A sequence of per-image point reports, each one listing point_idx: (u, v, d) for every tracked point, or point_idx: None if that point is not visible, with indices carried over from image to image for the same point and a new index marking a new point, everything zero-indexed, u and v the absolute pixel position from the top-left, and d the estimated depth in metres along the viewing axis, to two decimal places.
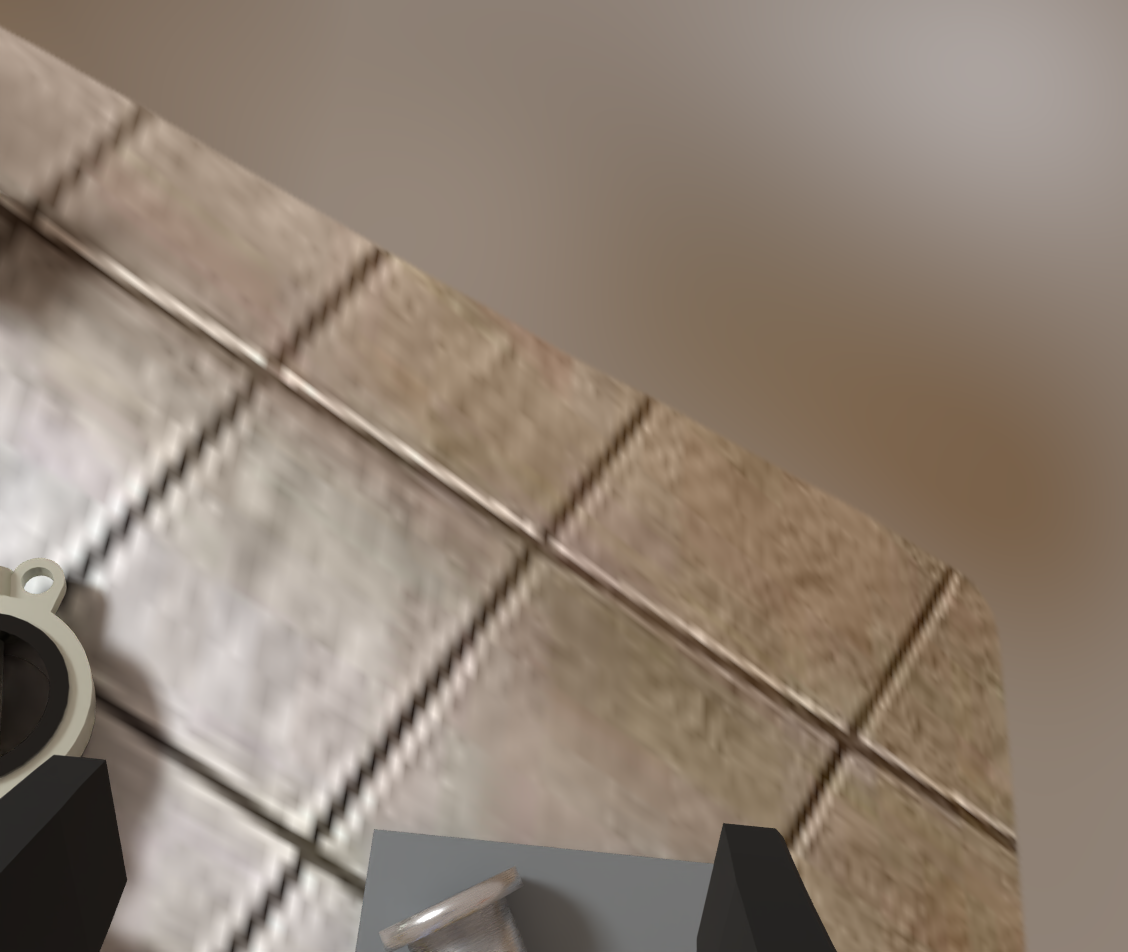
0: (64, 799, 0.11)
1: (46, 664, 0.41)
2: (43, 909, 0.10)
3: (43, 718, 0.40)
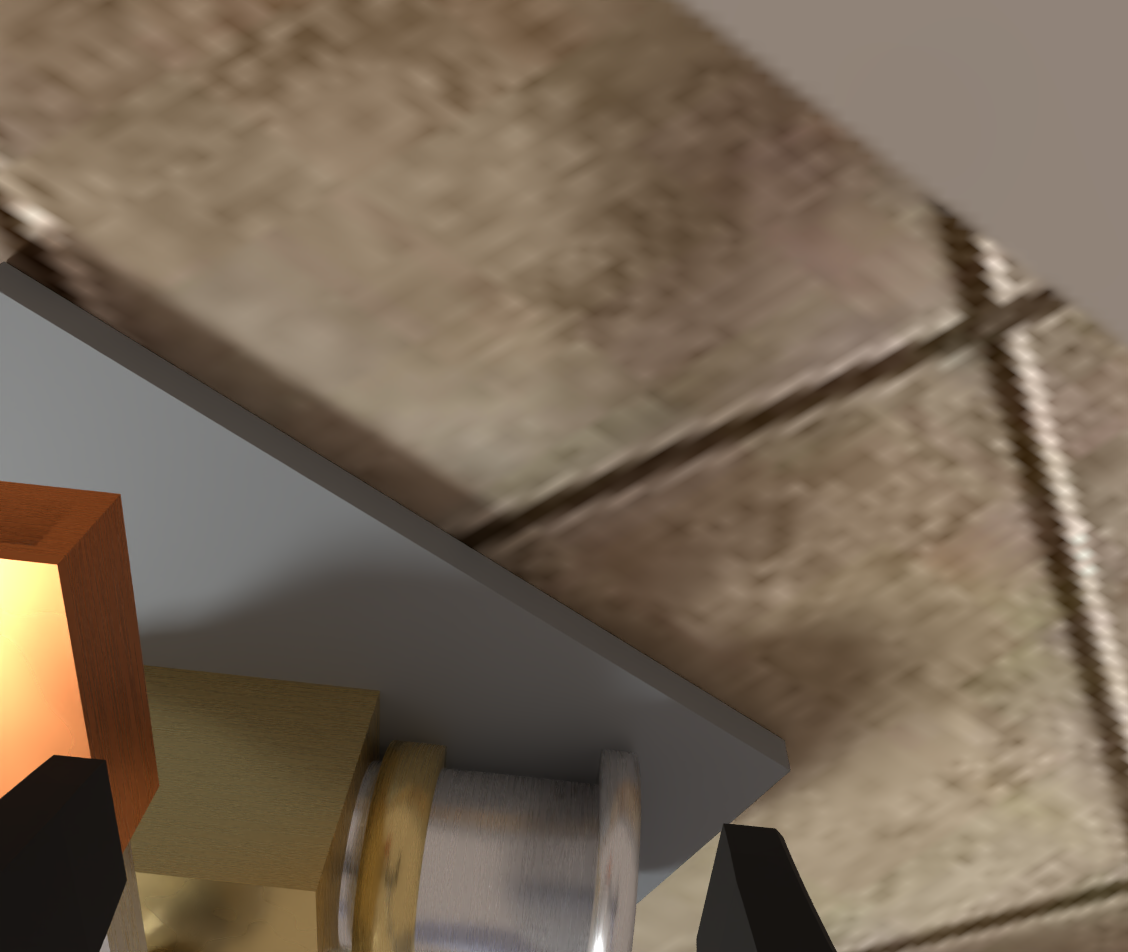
0: (64, 799, 0.11)
1: None
2: (43, 909, 0.10)
3: None
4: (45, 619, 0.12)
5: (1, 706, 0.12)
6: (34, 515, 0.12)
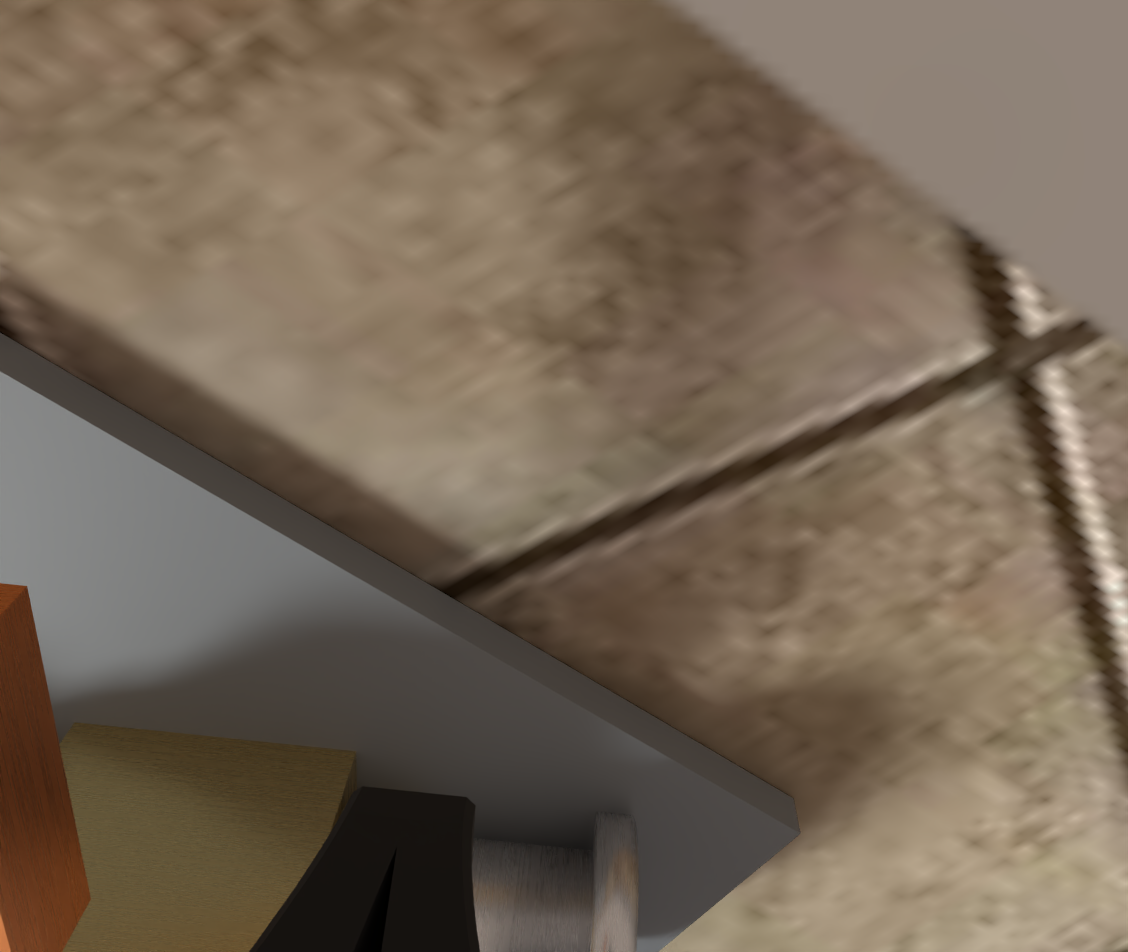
0: (395, 833, 0.11)
1: None
2: (382, 944, 0.10)
3: None
4: None
5: None
6: None
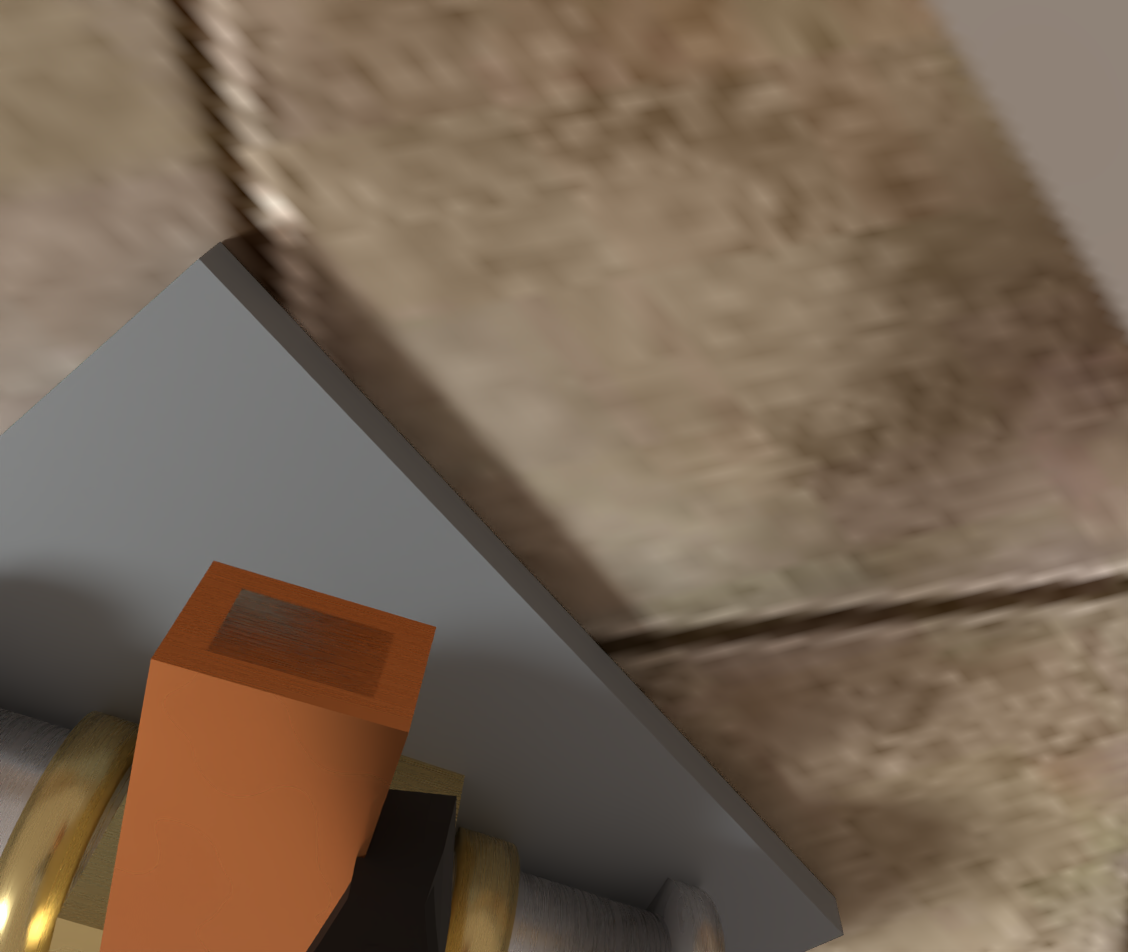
0: (440, 838, 0.11)
1: None
2: None
3: None
4: (363, 783, 0.10)
5: (260, 858, 0.10)
6: (355, 648, 0.10)
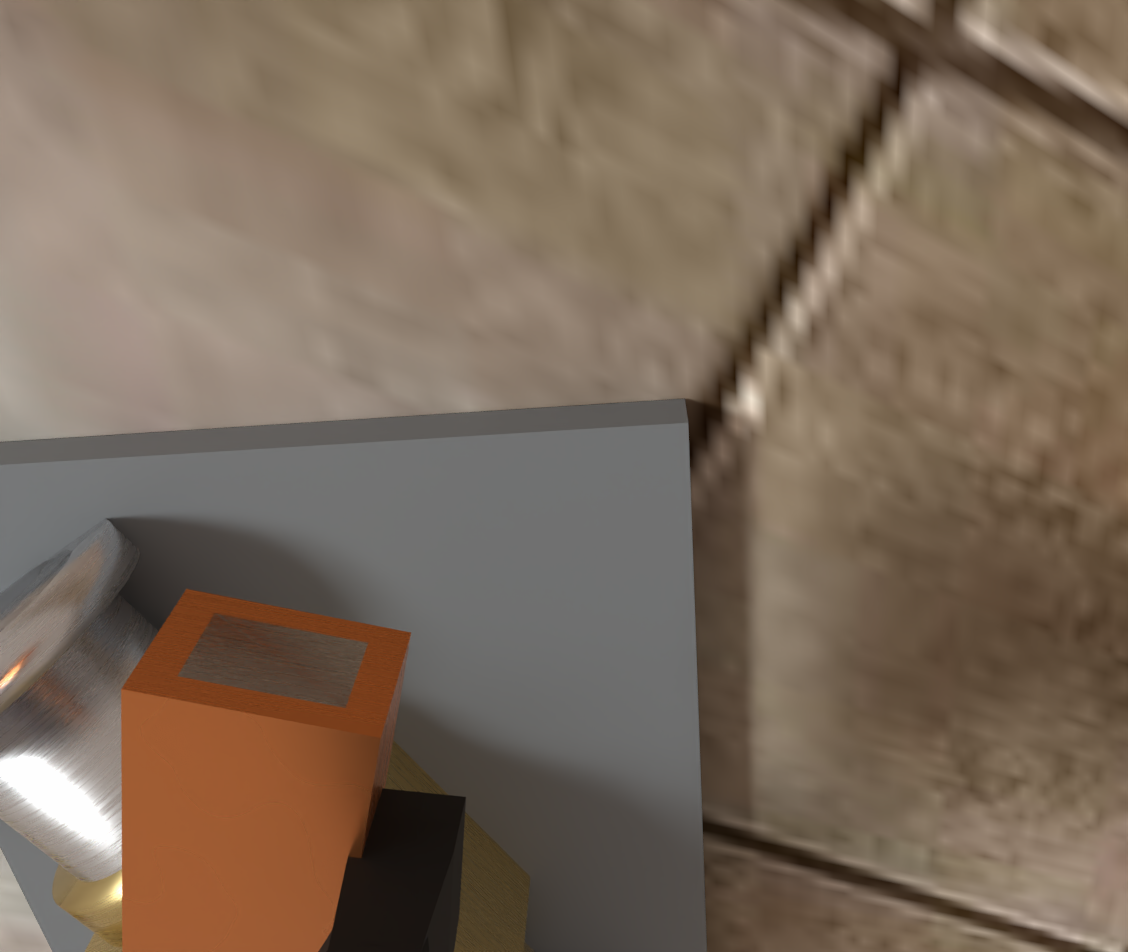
0: (450, 839, 0.11)
1: None
2: (439, 950, 0.10)
3: None
4: (345, 793, 0.10)
5: (259, 876, 0.10)
6: (327, 660, 0.10)
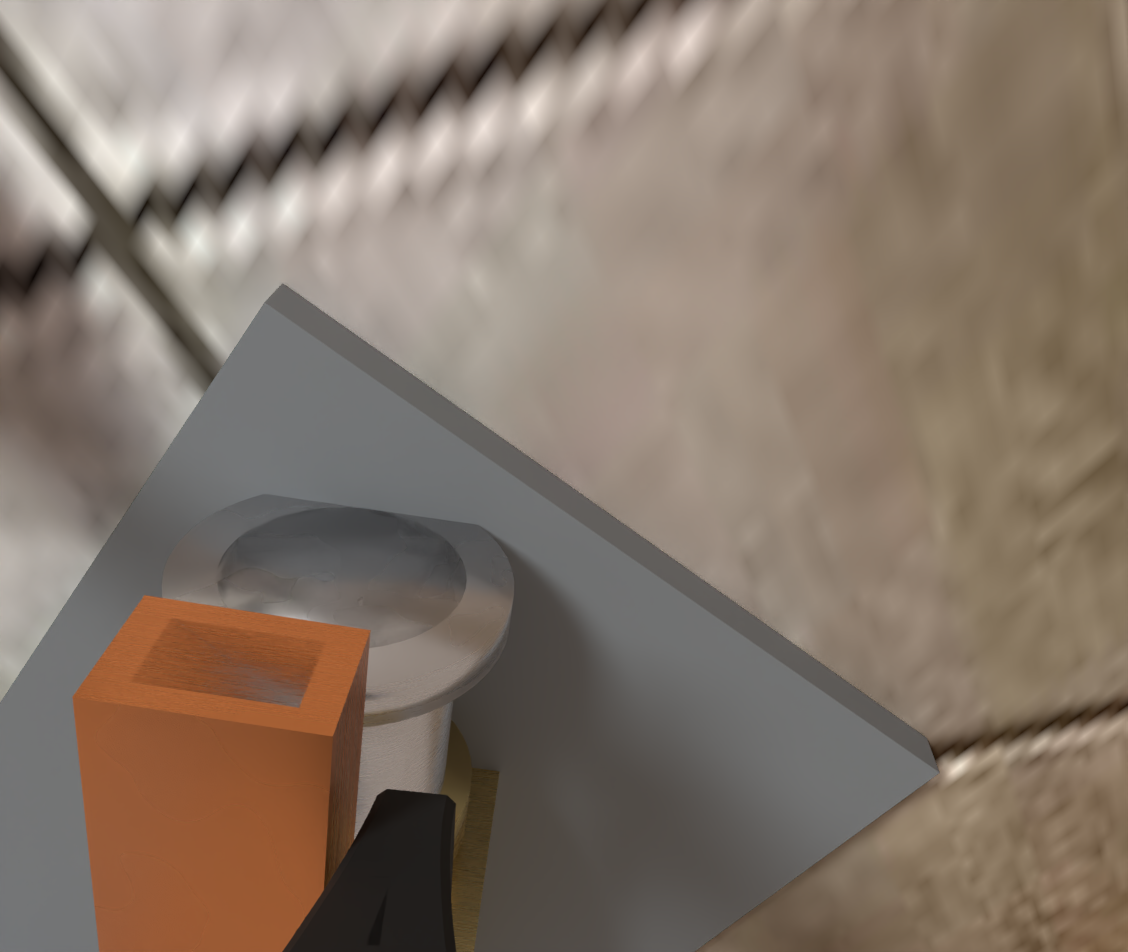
0: (421, 836, 0.11)
1: None
2: None
3: None
4: (303, 793, 0.10)
5: (226, 879, 0.10)
6: (283, 660, 0.10)
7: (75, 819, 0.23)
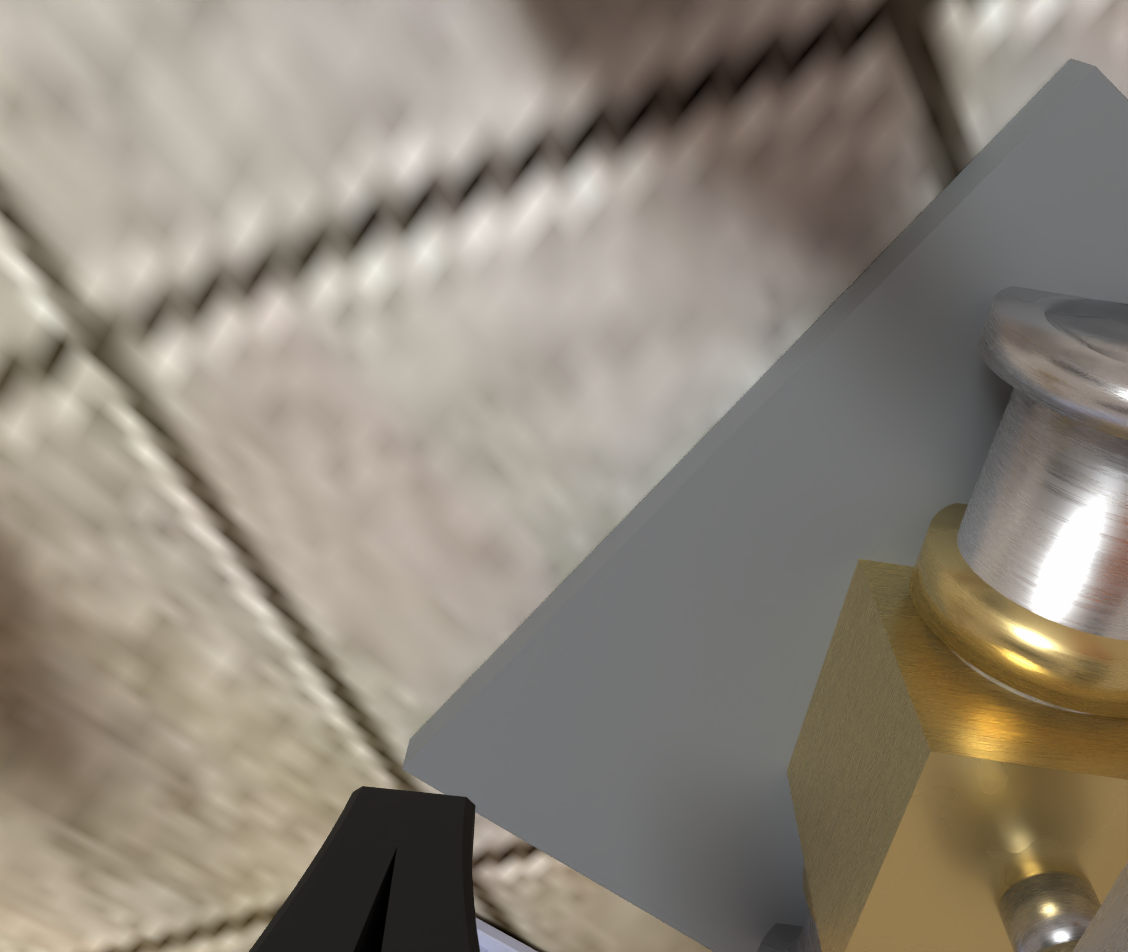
0: (395, 833, 0.11)
1: None
2: (382, 944, 0.10)
3: None
4: None
5: None
6: None
7: (671, 659, 0.22)
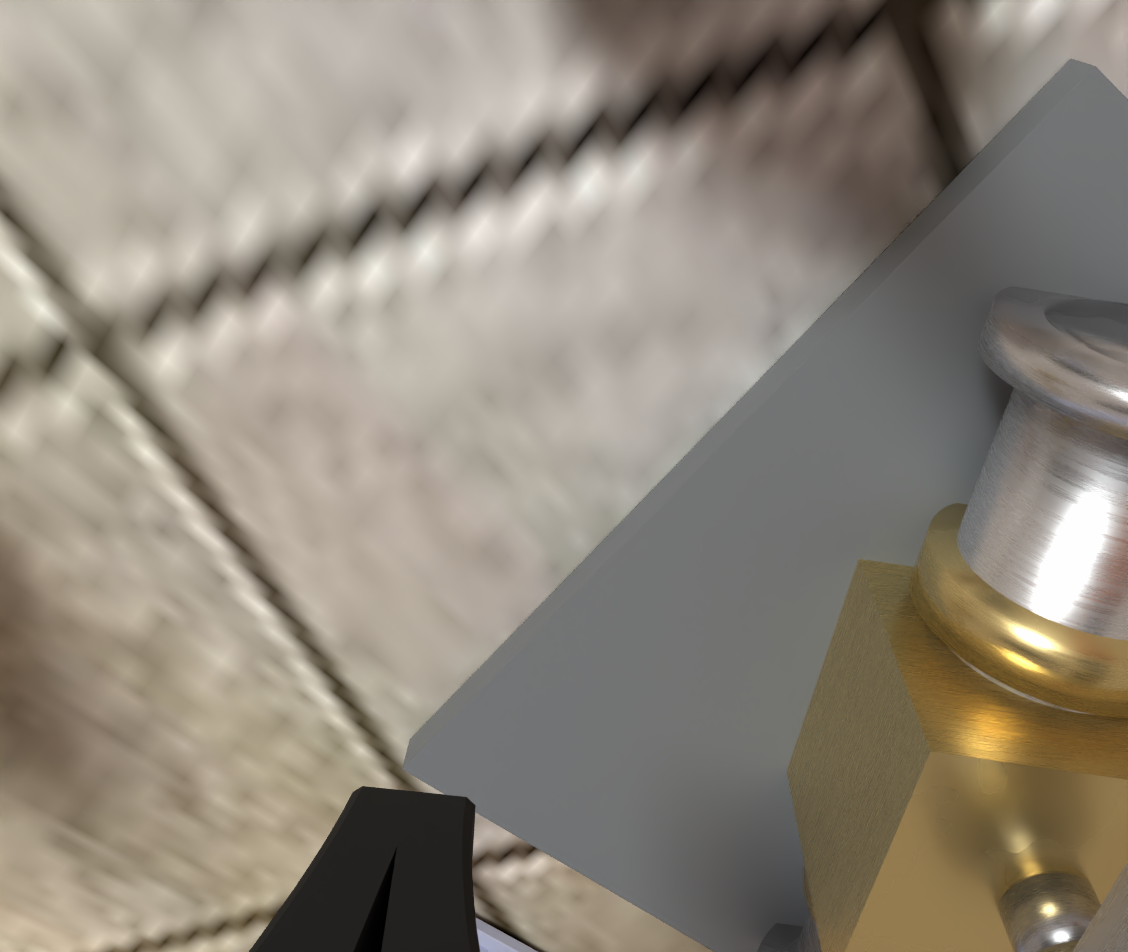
0: (395, 833, 0.11)
1: None
2: (382, 944, 0.10)
3: None
4: None
5: None
6: None
7: (671, 659, 0.22)
